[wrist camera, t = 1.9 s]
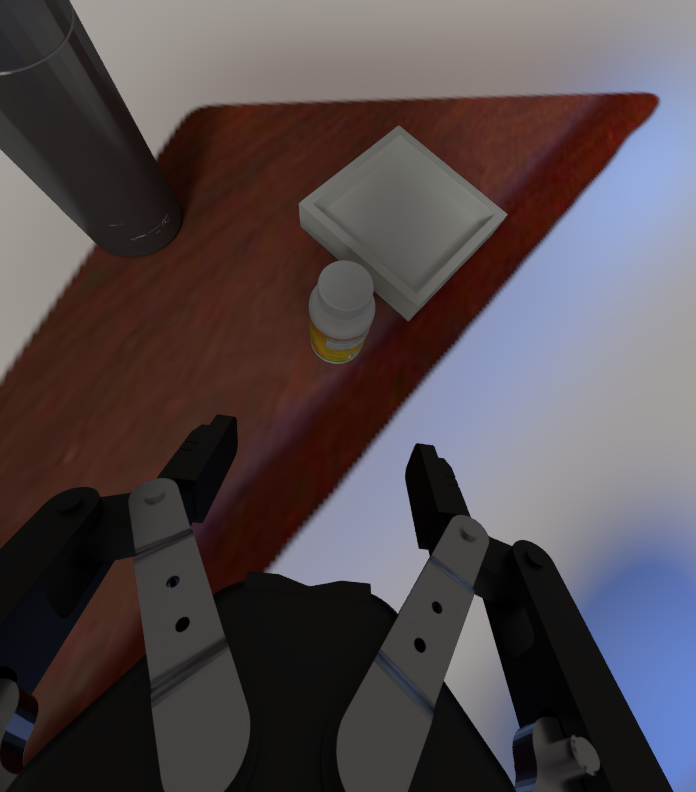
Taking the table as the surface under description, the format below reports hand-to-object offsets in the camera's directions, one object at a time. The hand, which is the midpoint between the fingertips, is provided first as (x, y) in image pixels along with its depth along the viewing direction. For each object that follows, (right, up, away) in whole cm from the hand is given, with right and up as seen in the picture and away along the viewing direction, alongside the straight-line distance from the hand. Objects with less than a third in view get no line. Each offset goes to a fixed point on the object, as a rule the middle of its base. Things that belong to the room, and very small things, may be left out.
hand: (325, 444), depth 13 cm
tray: (+7, +21, +20) cm, 30 cm away
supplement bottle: (0, +8, +17) cm, 19 cm away
